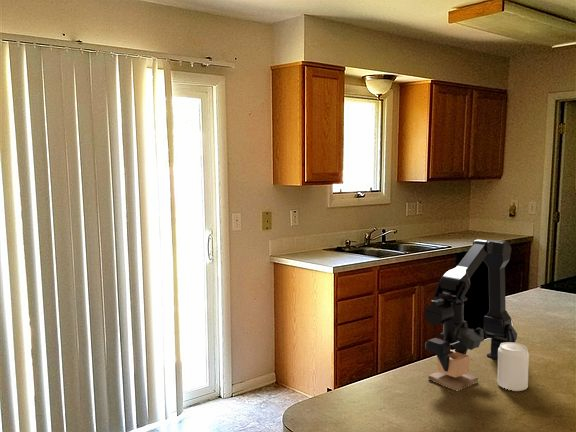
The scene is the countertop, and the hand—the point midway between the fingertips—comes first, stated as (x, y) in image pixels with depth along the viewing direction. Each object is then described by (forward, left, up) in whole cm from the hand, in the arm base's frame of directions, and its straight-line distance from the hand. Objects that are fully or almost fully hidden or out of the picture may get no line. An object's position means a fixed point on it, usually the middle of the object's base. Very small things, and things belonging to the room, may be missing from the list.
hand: (453, 368), depth 154 cm
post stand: (0, 0, -4) cm, 4 cm away
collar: (0, 0, -1) cm, 1 cm away
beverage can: (-10, +13, -4) cm, 17 cm away
